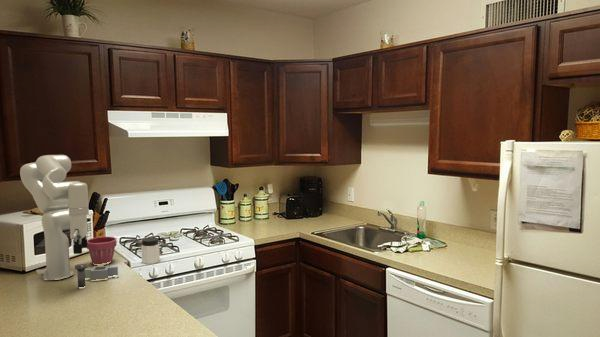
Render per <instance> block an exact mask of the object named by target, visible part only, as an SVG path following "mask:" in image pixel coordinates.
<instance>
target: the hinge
mask: <svg viewBox="0 0 600 337" xmlns="http://www.w3.org/2000/svg"><path fill="white" fill-rule="evenodd" d="M110 265H111V264H109V265H106V266H93V267H92V268H85V278H90V279H91V280H96V279H105V278H108V276H113V275H118V276H119V267H118V266H110ZM91 280H90V281H91Z"/></svg>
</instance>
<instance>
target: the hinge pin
mask: <svg viewBox="0 0 600 337" xmlns="http://www.w3.org/2000/svg"><path fill="white" fill-rule="evenodd" d="M85 269H88V264H87V263H78V264H74V270H76V273H77V277H76V278H77V288H78V287H84V286H86V287H87V285H86V280H85Z"/></svg>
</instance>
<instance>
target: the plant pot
mask: <svg viewBox="0 0 600 337" xmlns="http://www.w3.org/2000/svg"><path fill="white" fill-rule="evenodd" d="M117 243H118V242H117V238H116V237H113V236H97V237H92V238H89V239H87V248H86V249H87V250H88V251H89V257H90V260H91V264H92V263H94V264H102V263H107V262H110V261H112V262H113V257H114V253H115V248H116V247H117Z"/></svg>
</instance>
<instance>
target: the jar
mask: <svg viewBox="0 0 600 337" xmlns="http://www.w3.org/2000/svg"><path fill="white" fill-rule="evenodd" d="M140 247H141V263H142V264H144V265H145V264H146V265H151V264H157V263H158V262H159V261H160V259H161V257H160V243H159V238H158V237H147V238H143V239H142V241H141V246H140Z"/></svg>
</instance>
